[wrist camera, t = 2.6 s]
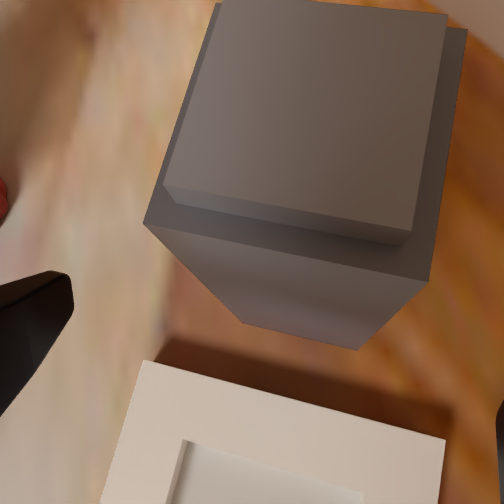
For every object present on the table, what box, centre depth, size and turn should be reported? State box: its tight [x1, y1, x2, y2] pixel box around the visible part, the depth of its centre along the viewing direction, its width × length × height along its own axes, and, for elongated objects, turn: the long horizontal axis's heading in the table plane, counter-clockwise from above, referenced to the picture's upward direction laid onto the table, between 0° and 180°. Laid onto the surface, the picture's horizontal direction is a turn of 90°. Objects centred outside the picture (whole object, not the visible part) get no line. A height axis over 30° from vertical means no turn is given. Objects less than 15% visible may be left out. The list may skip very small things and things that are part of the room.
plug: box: [143, 0, 468, 351], centre depth 14 cm, size 5×5×13 cm
